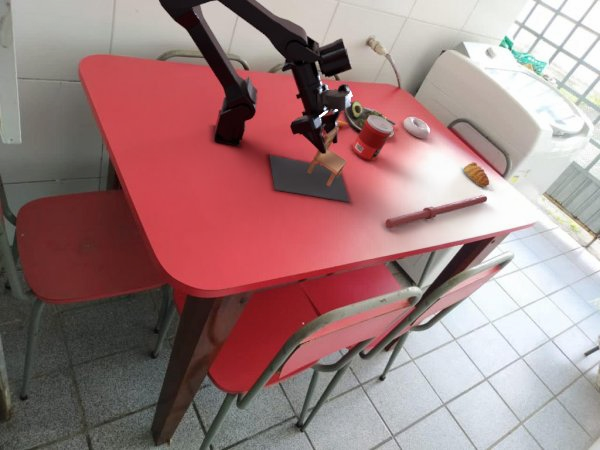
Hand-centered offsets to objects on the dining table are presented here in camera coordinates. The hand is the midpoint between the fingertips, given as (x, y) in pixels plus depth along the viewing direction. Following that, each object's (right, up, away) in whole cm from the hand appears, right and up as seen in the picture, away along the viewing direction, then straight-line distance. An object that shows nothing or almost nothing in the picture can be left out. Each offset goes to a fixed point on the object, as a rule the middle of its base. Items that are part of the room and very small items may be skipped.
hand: (330, 148), depth 99 cm
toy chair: (-1, -6, +5) cm, 8 cm away
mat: (-5, -7, +5) cm, 10 cm away
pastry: (+52, -3, +39) cm, 65 cm away
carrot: (+3, +14, +28) cm, 31 cm away
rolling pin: (+32, -16, +16) cm, 39 cm away
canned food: (+12, +3, +24) cm, 27 cm away
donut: (+34, +15, +47) cm, 60 cm away
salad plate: (+15, +15, +38) cm, 43 cm away
